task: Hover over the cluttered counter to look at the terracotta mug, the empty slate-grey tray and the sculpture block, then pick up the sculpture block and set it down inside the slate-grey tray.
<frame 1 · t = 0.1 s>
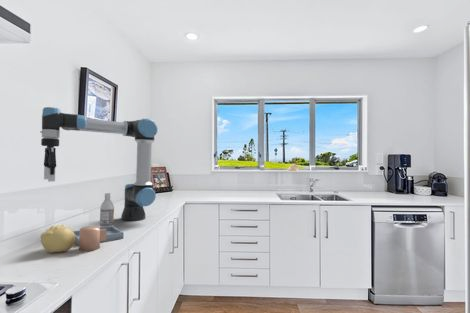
hand: (49, 180, 138), 28 cm above the worktop, tool pointing down, fingers open, 13 cm apart
sculpture: (58, 251, 118), on the worktop
mug: (89, 248, 121), on the worktop
tray: (97, 238, 136), on the worktop
bath foam: (106, 229, 154), on the worktop
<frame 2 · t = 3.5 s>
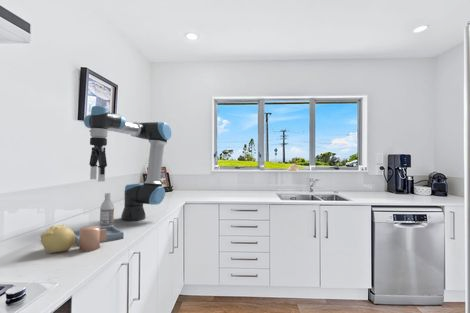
hand: (97, 180, 136), 29 cm above the worktop, tool pointing down, fingers open, 13 cm apart
nothing on the worktop moved.
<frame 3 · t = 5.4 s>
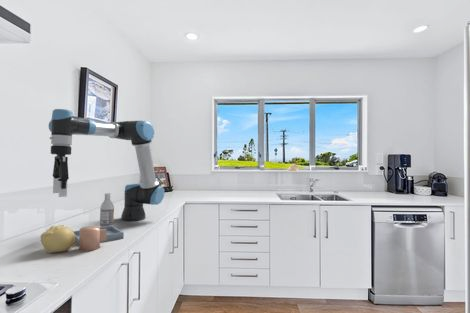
hand: (59, 194, 118), 24 cm above the worktop, tool pointing down, fingers open, 13 cm apart
nothing on the worktop moved.
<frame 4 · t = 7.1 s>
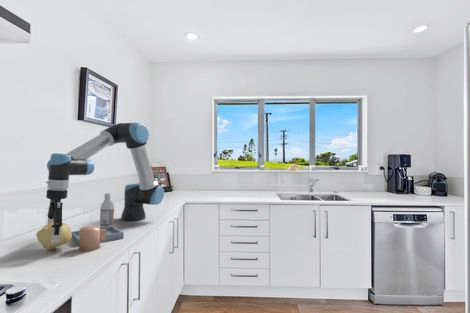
hand: (52, 238, 118), 5 cm above the worktop, tool pointing down
sculpture: (57, 247, 118), point 1 cm above the worktop, touching gripper
everything else where it was.
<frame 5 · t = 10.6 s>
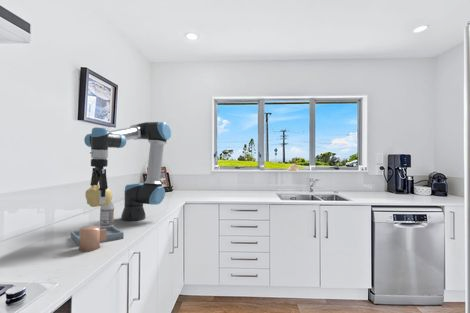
hand: (98, 201, 137), 18 cm above the worktop, tool pointing down, fingers closed on sculpture, 12 cm apart
sculpture: (98, 206, 137), point 16 cm above the worktop, touching gripper
everything else where it was.
when the fingers open (4 cm above the worktop, at t = 13.9 s): sculpture drops 1 cm, resting on tray.
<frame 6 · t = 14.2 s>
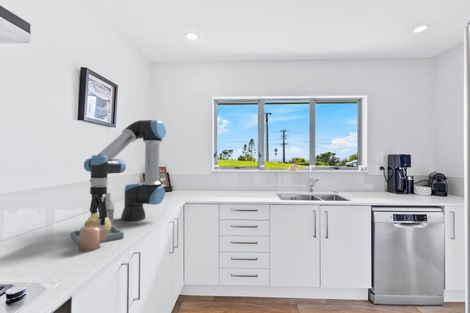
hand: (97, 228, 137), 5 cm above the worktop, tool pointing down, fingers open, 13 cm apart
sculpture: (97, 236, 137), point 1 cm above the worktop, touching gripper, tray
everything else where it was.
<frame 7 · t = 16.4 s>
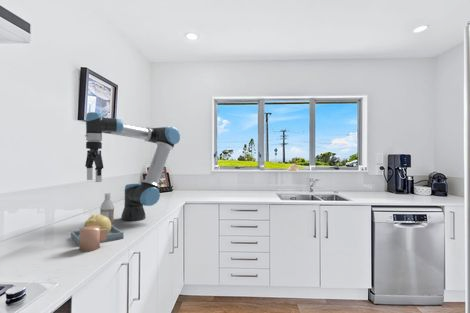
hand: (94, 181, 147), 27 cm above the worktop, tool pointing down, fingers open, 13 cm apart
sculpture: (97, 236, 137), point 1 cm above the worktop, touching tray
everything else where it was.
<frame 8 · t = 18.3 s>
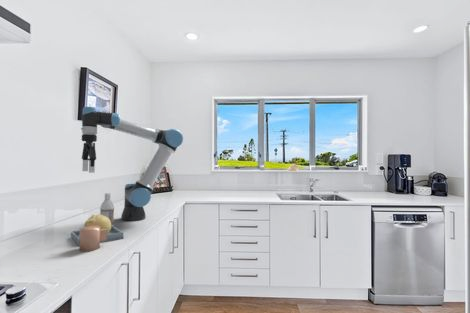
hand: (88, 171, 155), 32 cm above the worktop, tool pointing down, fingers open, 13 cm apart
nothing on the worktop moved.
at the end: sculpture inside the target area on the tray (0.3 cm from its centre), point 0.8 cm above the tray's base; sculpture tilted 0°; the gripper is holding nothing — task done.
